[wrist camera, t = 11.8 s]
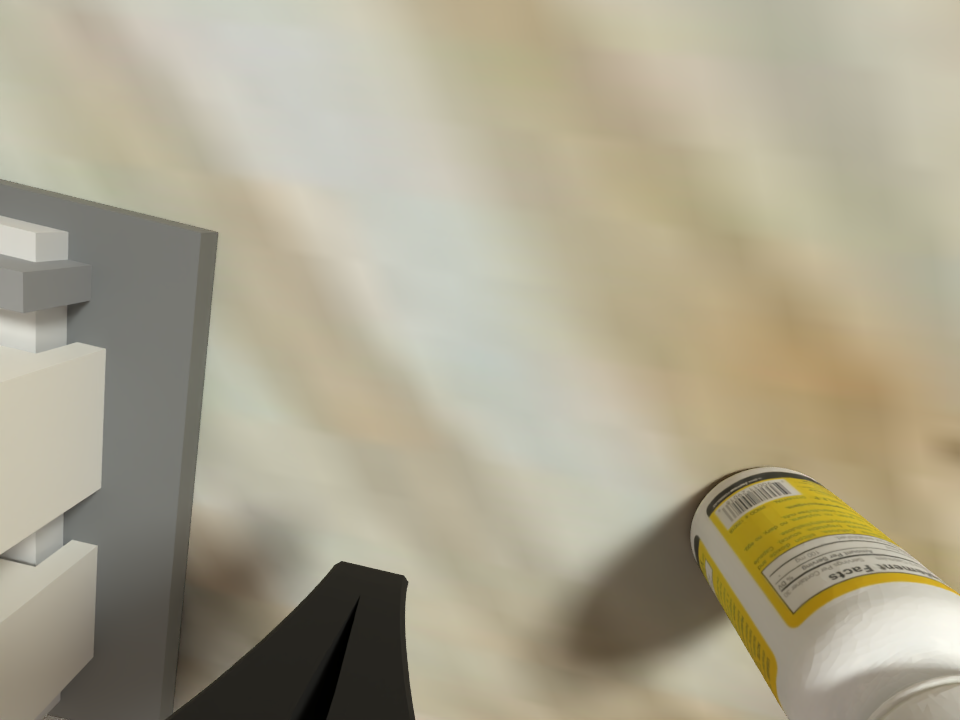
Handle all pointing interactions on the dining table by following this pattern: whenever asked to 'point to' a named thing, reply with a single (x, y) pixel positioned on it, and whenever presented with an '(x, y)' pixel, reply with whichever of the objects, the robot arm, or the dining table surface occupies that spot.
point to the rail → (106, 455)
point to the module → (48, 434)
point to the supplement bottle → (828, 602)
